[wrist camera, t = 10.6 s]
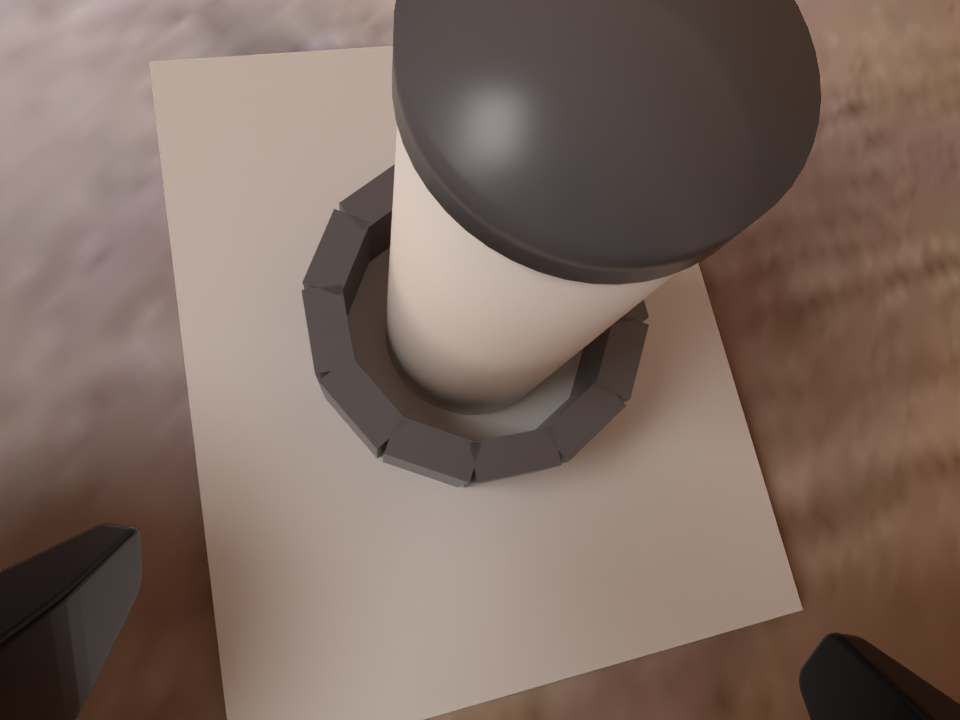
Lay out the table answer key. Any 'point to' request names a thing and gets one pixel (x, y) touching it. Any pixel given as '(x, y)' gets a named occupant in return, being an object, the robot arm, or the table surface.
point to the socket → (425, 435)
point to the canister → (574, 170)
